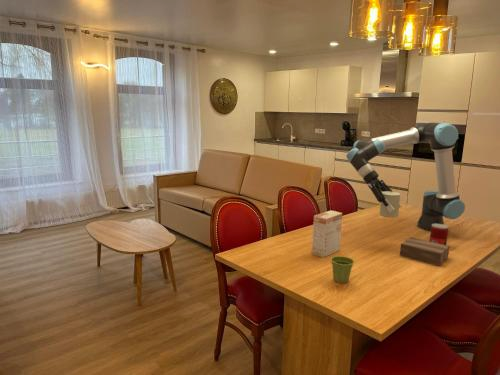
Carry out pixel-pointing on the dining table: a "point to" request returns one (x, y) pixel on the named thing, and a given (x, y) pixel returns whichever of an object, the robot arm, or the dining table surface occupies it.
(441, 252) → the walnut riser
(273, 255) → the dining table surface
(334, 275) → the plant pot
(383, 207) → the can
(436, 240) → the canned food
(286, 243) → the dining table surface
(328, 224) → the coffeecake box
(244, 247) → the dining table surface
